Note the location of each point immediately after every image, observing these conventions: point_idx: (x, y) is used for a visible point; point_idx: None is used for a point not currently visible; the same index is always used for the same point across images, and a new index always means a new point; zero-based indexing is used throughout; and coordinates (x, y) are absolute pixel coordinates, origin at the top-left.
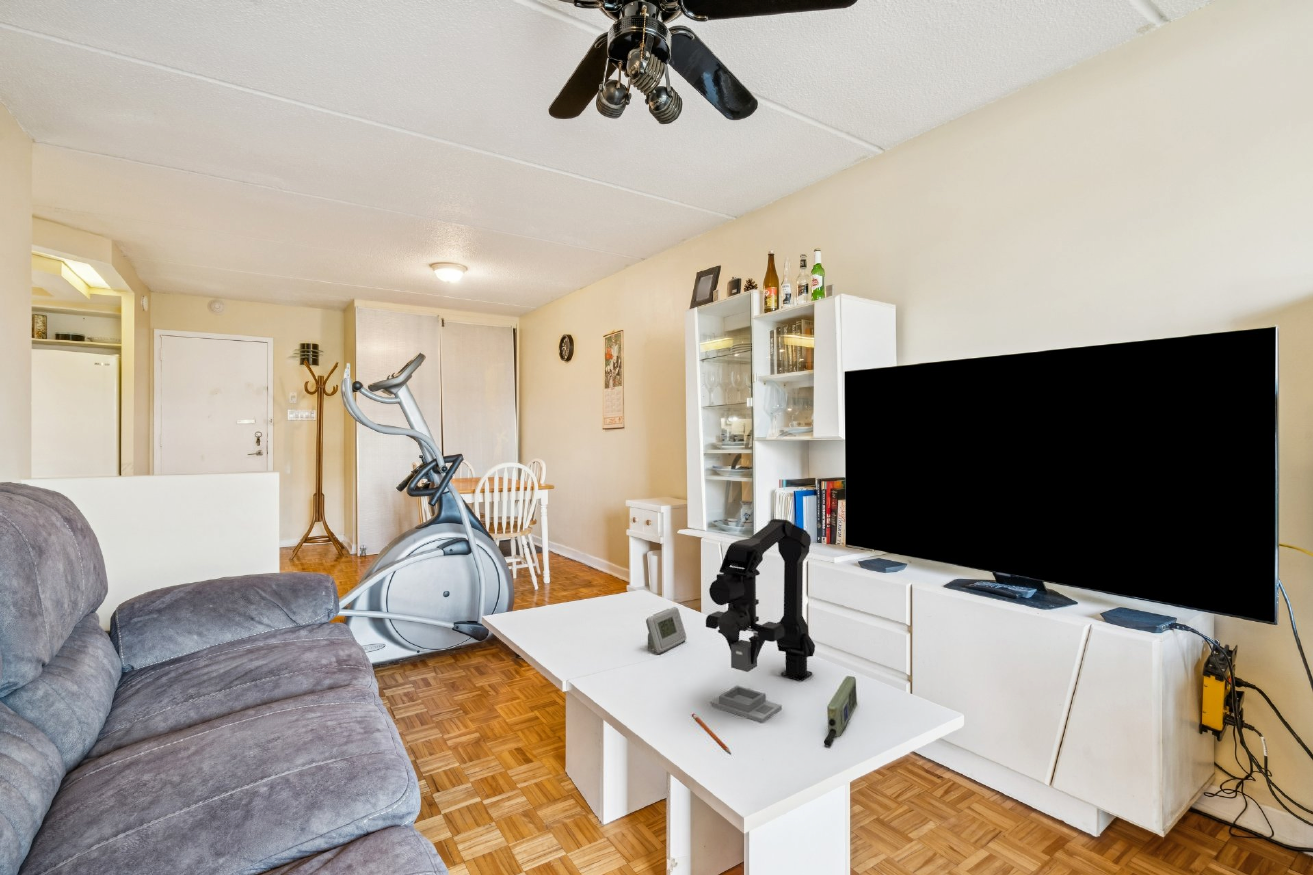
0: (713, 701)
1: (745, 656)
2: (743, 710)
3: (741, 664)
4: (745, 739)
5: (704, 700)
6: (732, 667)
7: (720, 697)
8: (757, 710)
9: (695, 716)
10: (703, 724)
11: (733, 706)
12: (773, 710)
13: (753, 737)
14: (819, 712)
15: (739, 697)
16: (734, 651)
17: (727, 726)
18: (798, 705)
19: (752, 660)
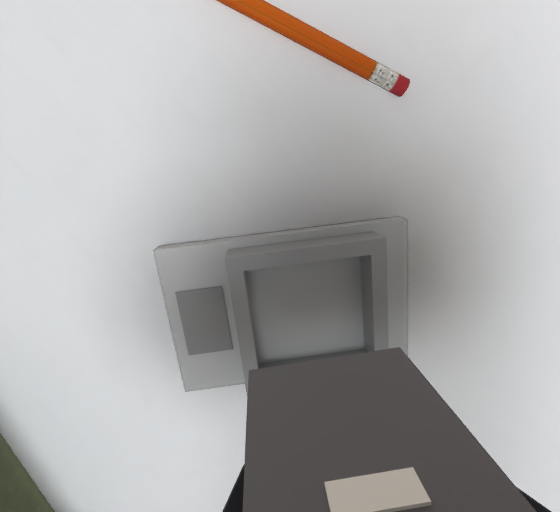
0: (401, 228)
1: (274, 482)
2: (251, 247)
3: (313, 394)
4: (101, 75)
5: (448, 236)
6: (388, 350)
7: (375, 237)
8: (214, 291)
9: (383, 69)
10: (307, 28)
11: (301, 241)
12: (174, 337)
13: (93, 117)
14: (86, 449)
15: (343, 331)
16: (451, 483)
17: (234, 117)
18: (170, 441)
19: (238, 492)
